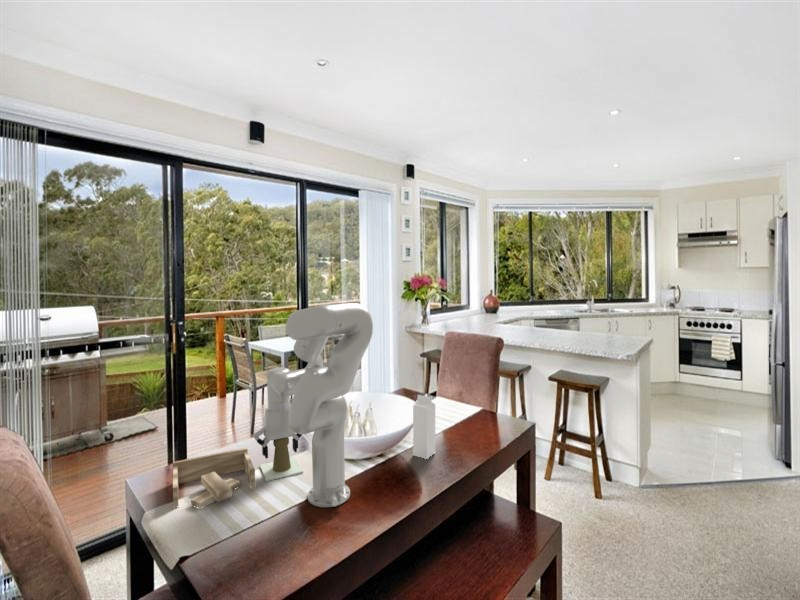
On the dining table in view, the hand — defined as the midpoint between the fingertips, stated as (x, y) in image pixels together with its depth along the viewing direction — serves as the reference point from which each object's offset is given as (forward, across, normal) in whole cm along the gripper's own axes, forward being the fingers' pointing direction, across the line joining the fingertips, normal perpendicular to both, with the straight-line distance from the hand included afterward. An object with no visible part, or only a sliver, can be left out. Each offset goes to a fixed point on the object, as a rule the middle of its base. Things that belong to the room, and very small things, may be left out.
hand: (280, 453), depth 140 cm
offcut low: (+6, +21, +7) cm, 23 cm away
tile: (+6, 0, 0) cm, 6 cm away
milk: (+6, -49, +14) cm, 51 cm away
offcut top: (+4, +21, +7) cm, 22 cm away
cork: (+5, 0, 0) cm, 5 cm away
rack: (+6, +21, +1) cm, 22 cm away
